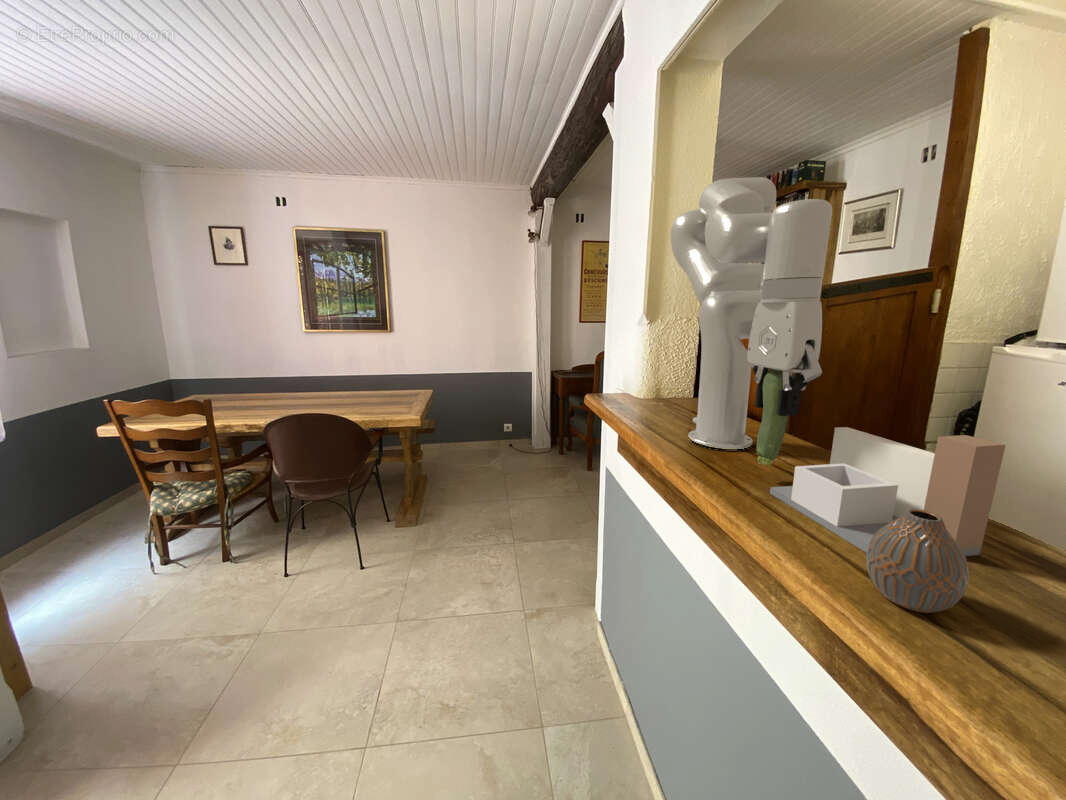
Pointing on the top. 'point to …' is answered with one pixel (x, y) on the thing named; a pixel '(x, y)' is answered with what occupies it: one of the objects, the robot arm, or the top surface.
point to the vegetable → (771, 419)
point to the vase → (918, 563)
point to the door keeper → (898, 486)
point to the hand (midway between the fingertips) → (775, 409)
